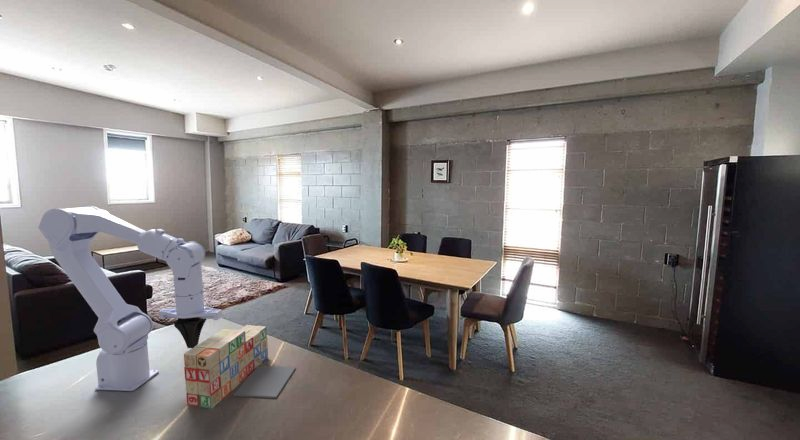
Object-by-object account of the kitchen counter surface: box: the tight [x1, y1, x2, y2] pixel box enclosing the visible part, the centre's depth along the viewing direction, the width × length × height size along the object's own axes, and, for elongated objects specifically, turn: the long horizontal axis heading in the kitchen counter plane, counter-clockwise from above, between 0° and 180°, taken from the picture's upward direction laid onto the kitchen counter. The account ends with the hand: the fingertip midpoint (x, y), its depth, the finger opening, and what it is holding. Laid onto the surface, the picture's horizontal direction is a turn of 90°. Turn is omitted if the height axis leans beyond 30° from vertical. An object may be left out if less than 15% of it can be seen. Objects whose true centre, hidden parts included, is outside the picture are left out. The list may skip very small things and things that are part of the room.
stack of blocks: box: [183, 324, 269, 410], centre depth 80 cm, size 21×6×12 cm, turn 170°
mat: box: [233, 365, 297, 399], centre depth 80 cm, size 10×12×1 cm
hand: (192, 346), depth 80 cm, fingers closed
